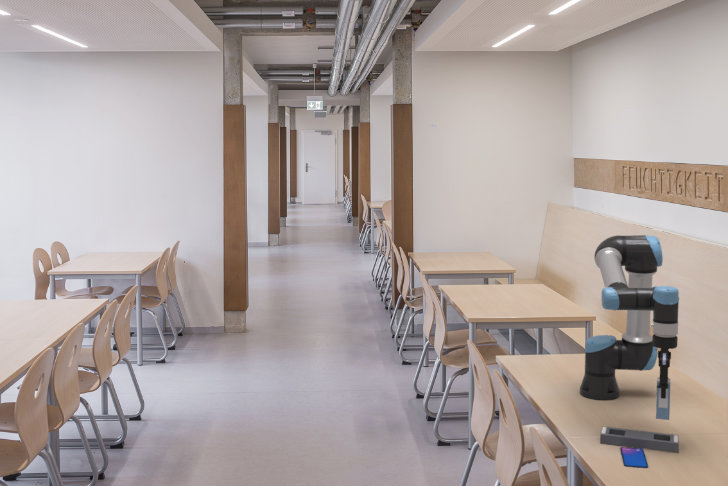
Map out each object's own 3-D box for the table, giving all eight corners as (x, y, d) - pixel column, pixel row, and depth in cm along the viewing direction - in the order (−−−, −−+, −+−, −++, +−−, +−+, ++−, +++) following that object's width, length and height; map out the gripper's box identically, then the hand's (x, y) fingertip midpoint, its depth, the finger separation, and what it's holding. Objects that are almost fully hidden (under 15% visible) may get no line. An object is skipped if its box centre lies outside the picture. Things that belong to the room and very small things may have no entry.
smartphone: (623, 465, 233) (619, 446, 247) (623, 468, 233) (619, 449, 247) (648, 467, 231) (643, 448, 245) (648, 470, 231) (643, 450, 245)
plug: (656, 414, 249) (657, 377, 248) (669, 416, 248) (670, 378, 246) (656, 418, 245) (656, 380, 244) (669, 420, 244) (670, 382, 243)
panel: (602, 434, 259) (602, 425, 258) (678, 443, 250) (678, 434, 249) (600, 443, 251) (600, 433, 251) (678, 452, 242) (678, 443, 242)
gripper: (653, 328, 253) (651, 396, 255) (651, 339, 237) (649, 412, 240) (677, 329, 250) (675, 398, 253) (677, 341, 234) (675, 414, 237)
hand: (663, 405), depth 246 cm, fingers closed on plug, 4 cm apart
